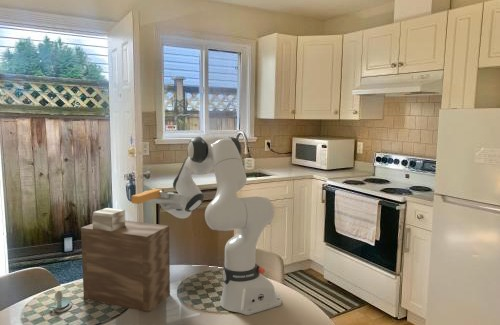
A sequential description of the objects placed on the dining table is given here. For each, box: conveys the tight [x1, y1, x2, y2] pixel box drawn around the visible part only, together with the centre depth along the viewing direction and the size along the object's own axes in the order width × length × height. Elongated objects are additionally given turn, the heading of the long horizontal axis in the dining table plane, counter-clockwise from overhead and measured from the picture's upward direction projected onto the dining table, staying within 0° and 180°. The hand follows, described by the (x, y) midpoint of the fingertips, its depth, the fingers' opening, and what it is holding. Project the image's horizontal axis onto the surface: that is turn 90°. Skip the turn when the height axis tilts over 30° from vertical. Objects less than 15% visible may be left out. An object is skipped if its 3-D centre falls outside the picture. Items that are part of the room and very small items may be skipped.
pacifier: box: [49, 290, 73, 313], centre depth 134 cm, size 7×6×6 cm
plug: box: [131, 187, 165, 204], centre depth 161 cm, size 18×4×3 cm, turn 160°
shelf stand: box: [80, 207, 171, 313], centre depth 141 cm, size 14×28×33 cm, turn 71°
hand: (155, 192), depth 166 cm, fingers closed on plug, 3 cm apart
